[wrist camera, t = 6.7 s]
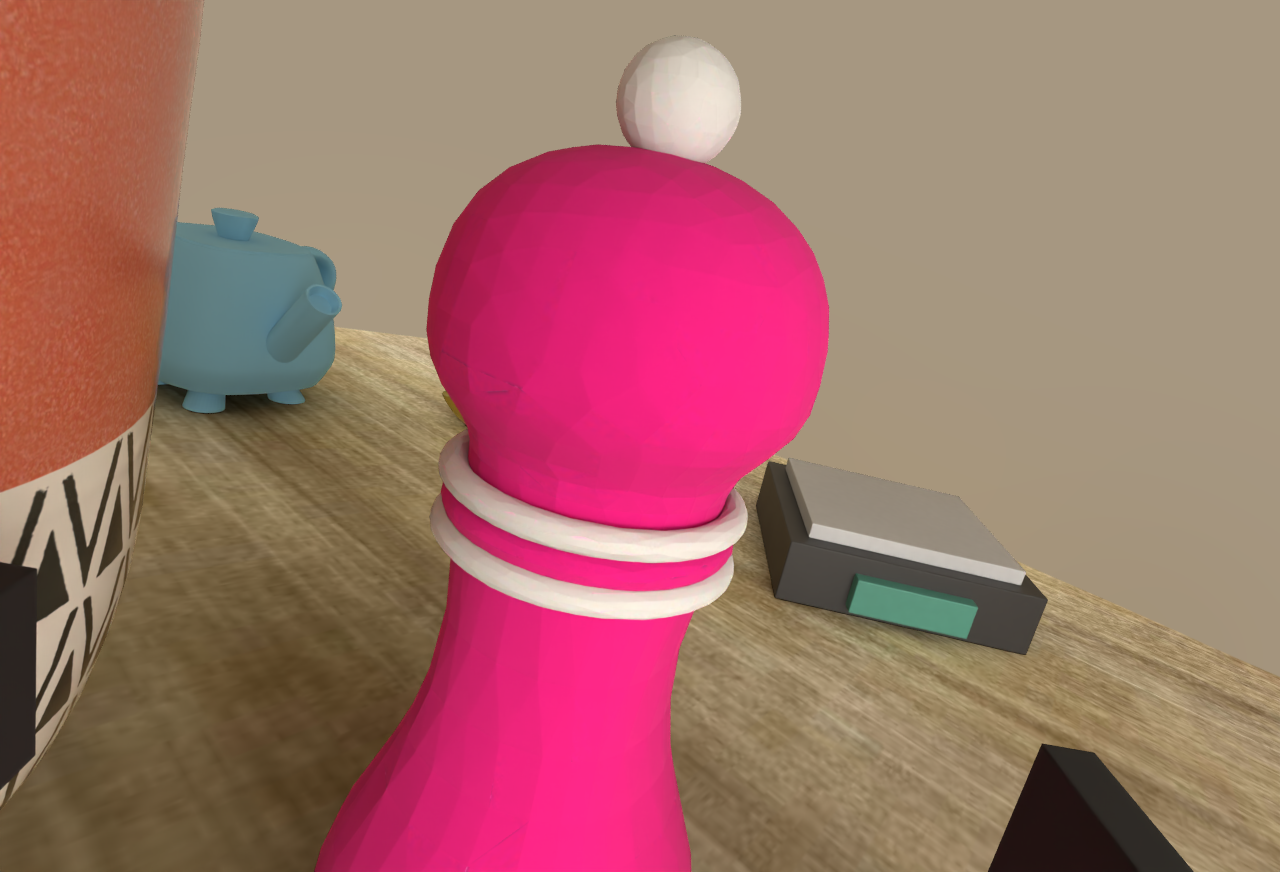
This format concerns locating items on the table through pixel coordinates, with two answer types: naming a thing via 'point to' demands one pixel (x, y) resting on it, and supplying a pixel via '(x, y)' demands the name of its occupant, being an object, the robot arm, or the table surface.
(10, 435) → the planter
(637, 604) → the pepper mill
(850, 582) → the scale
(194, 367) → the teapot
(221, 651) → the table surface
